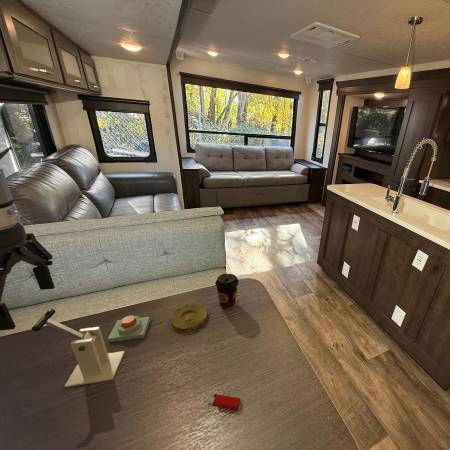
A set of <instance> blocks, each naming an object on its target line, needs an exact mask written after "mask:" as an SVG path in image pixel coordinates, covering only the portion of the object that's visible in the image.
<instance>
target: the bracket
mask: <svg viewBox="0 0 450 450" xmlns="http://www.w3.org/2000/svg"><path fill="white" fill-rule="evenodd" d="M78 332H79V333H82V334H85V333H87V332H89V333H91V334H93V335H95V336H97V338H96V339H95V341H94V342H93V339H83V340H79V339H75V340H71V342H70V347H71V349H72V352H73V354H74V357H75V360H76V362H77V364H76V366H75V367H74V369H73V371H72V373H71V374H70V375H69V377H68V379H67V380H66V383H65V384H64V388H71V387H77V386H84V385H90V384H95V383H103V382H108V381H113V380H114V378H115V375H116V374H117V372H118V369H119V366H120V365H121V362H122V361H123V358H124V356H125V353H126V351H125V350H122V351H115V352H108V350H107V346H106V344H105V339H104V336H103V333H102V330H101V327H100V326H95V327H85V328H80V329H79V331H78Z"/></svg>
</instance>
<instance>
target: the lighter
mask: <svg viewBox="0 0 450 450" xmlns="http://www.w3.org/2000/svg"><path fill="white" fill-rule="evenodd" d="M240 403H241V398H240V397H236V396H230V395H224V394H218V393H214V394H213V395H212V396H209V399H208V401H207V405H209V406H213V407H217V408H222V409H228V410H234V411H238V410H239V406H240Z"/></svg>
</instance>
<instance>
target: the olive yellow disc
mask: <svg viewBox="0 0 450 450" xmlns="http://www.w3.org/2000/svg"><path fill="white" fill-rule="evenodd" d="M207 317H208V313H207V308H206V307H204V306H203V305H201V304H193V303H192V304H186V305H183V306H181V307H179V308H178V309H176V310H174V312H173V313H172V315H171V317H170V324H171V327H172V328H173V329H174V330H175V331H177V332H183V333H184V332H191V331H195V330H197V329H198V328H201V326H203V325H204V324H205V323H206V321H207Z"/></svg>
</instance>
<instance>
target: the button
mask: <svg viewBox="0 0 450 450" xmlns="http://www.w3.org/2000/svg"><path fill="white" fill-rule="evenodd" d="M134 316H135V315H131V314H129V315H126V316H125V317H123V318H122V319H121V320H122V325H123V327H124V328H129V327H131V326H133V325H134V324H135V317H134Z"/></svg>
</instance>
